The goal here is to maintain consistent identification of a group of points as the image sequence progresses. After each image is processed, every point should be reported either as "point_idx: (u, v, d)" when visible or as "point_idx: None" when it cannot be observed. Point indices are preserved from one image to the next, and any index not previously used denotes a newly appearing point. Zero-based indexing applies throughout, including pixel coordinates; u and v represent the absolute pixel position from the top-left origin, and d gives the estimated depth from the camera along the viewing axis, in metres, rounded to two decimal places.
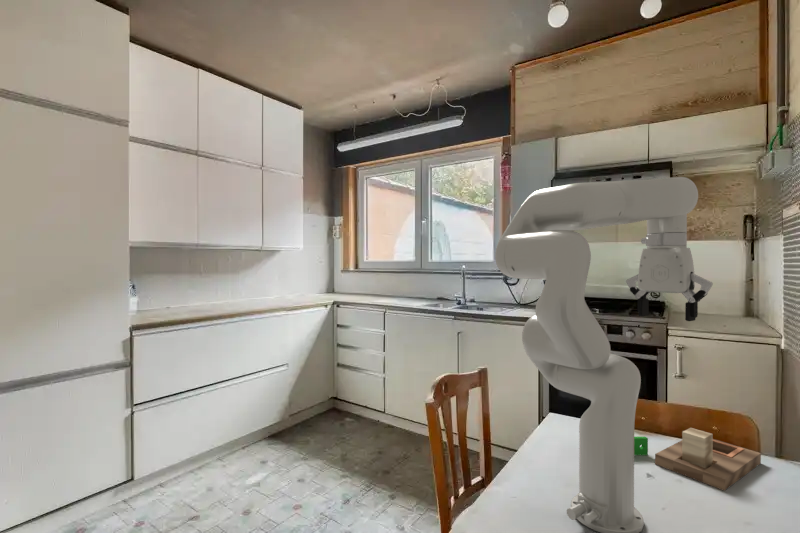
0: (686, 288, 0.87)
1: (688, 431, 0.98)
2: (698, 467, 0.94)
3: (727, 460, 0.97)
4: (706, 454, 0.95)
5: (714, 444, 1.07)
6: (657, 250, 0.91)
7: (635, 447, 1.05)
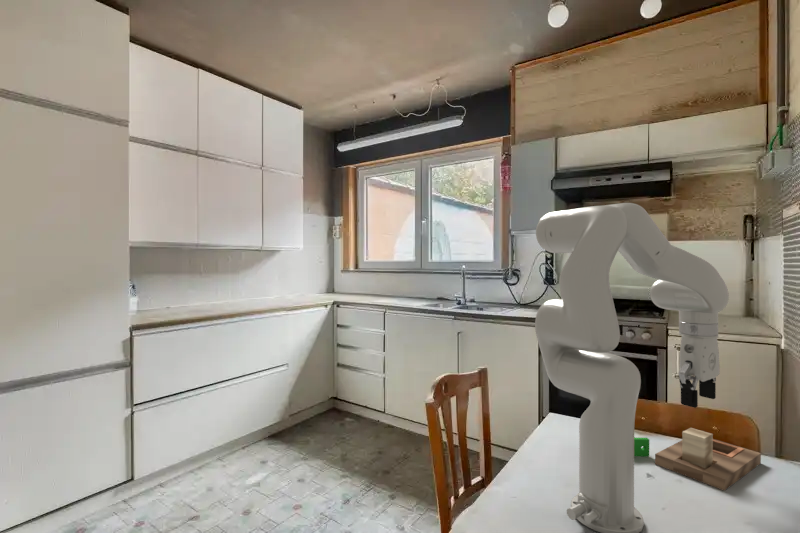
0: None
1: (688, 431, 0.98)
2: (698, 467, 0.94)
3: (727, 460, 0.97)
4: (706, 454, 0.95)
5: (714, 444, 1.07)
6: (710, 339, 0.94)
7: (636, 448, 1.05)
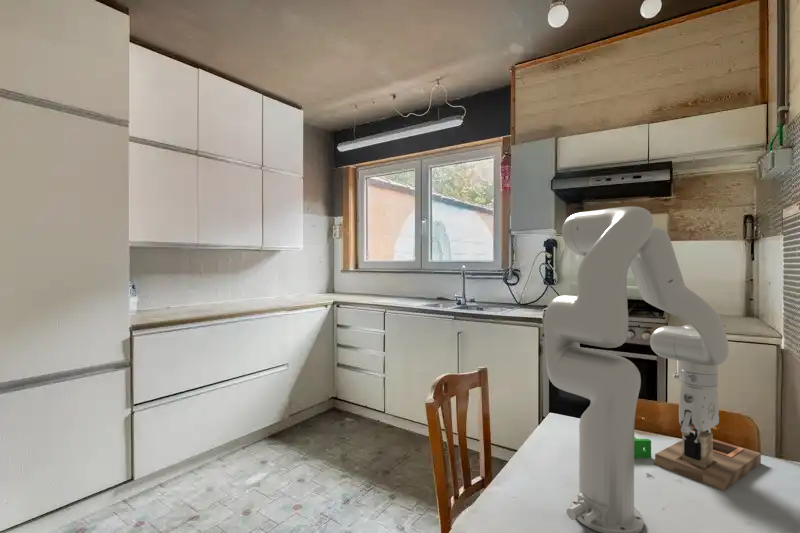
0: None
1: None
2: (698, 467, 0.94)
3: (727, 460, 0.97)
4: (706, 454, 0.95)
5: (714, 444, 1.07)
6: (709, 389, 0.94)
7: (638, 450, 1.04)
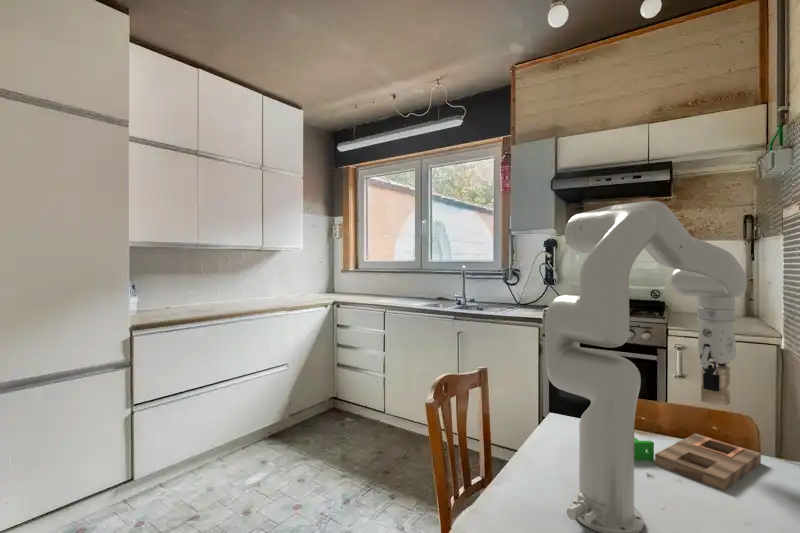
0: None
1: None
2: (698, 467, 0.94)
3: (727, 460, 0.97)
4: (724, 386, 1.00)
5: (714, 444, 1.07)
6: (727, 324, 1.00)
7: (641, 452, 1.03)
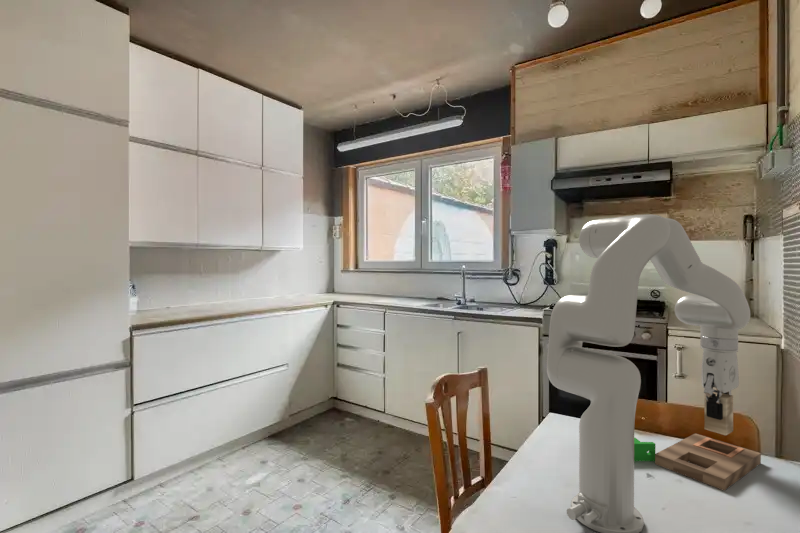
0: None
1: None
2: (698, 467, 0.94)
3: (727, 460, 0.97)
4: (728, 414, 1.01)
5: (714, 444, 1.07)
6: (730, 353, 1.01)
7: (642, 453, 1.02)
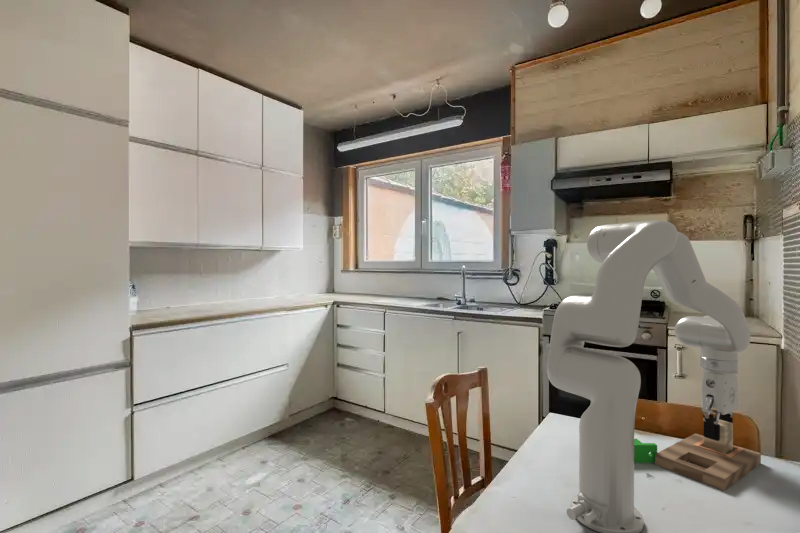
0: None
1: None
2: (698, 467, 0.94)
3: (727, 460, 0.97)
4: (727, 442, 1.01)
5: None
6: (730, 375, 1.01)
7: (644, 454, 1.01)
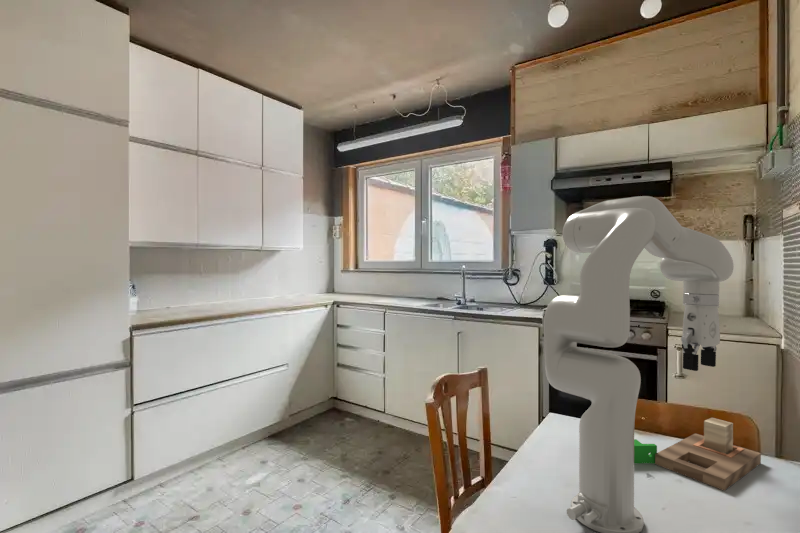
0: None
1: (709, 420, 1.05)
2: (698, 467, 0.94)
3: (727, 460, 0.97)
4: (727, 442, 1.01)
5: None
6: (711, 309, 1.03)
7: (644, 455, 1.01)
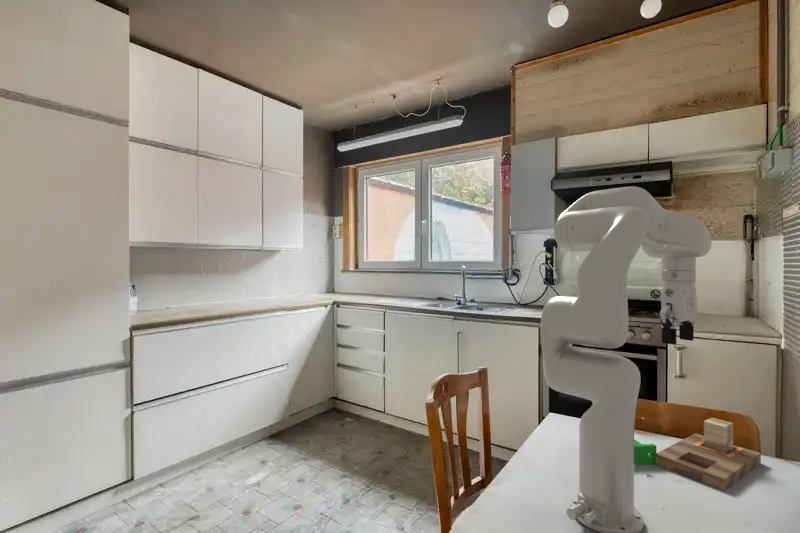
0: None
1: (709, 420, 1.05)
2: (698, 467, 0.94)
3: (727, 460, 0.97)
4: (727, 442, 1.01)
5: None
6: (688, 284, 1.06)
7: (644, 455, 1.01)
